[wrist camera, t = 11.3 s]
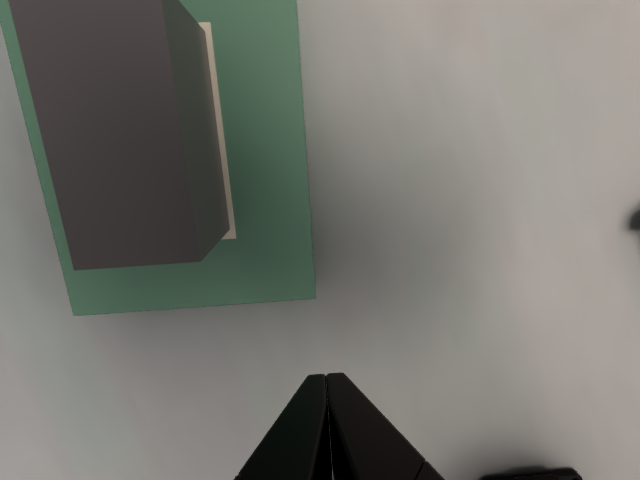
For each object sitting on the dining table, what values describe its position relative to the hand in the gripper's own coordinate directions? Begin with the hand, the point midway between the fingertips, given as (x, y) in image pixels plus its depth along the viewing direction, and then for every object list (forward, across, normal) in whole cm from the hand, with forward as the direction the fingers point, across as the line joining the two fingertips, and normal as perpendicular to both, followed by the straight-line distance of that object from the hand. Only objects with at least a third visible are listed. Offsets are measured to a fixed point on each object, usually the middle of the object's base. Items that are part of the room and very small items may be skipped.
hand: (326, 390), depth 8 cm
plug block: (+9, +6, -6) cm, 13 cm away
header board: (+11, +6, -6) cm, 14 cm away
